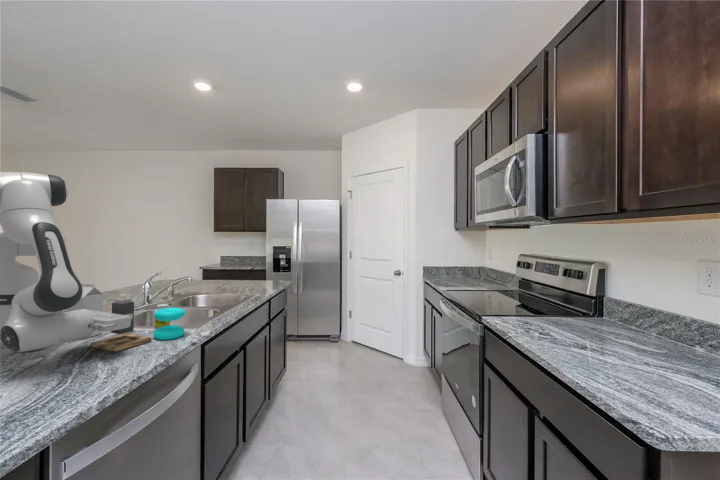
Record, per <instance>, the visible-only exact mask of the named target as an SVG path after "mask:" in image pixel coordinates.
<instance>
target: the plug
mask: <svg viewBox="0 0 720 480" xmlns="http://www.w3.org/2000/svg"><path fill="white" fill-rule="evenodd" d="M111 312H112V313H115V314H121V315H125V314H128V313H130V314H133V318H132V319H131V326H130V327H128V328H124V329H119V330H114V331H110V332H111V334H116V335H123V334H127V333H131V332H134V328H135V327H134V322H135V321H134V320H135V301H132V298H129V297H127V294H126V293H120V298H116V299H115V300H114V302H111Z"/></svg>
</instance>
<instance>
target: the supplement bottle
mask: <svg viewBox="0 0 720 480" xmlns="http://www.w3.org/2000/svg"><path fill="white" fill-rule="evenodd" d="M164 308H169V304H167V303H163V304H160V303H159V304H157V305H156V310H155V311H154V313H155V312H156V311H157V310H160V309H164ZM153 319H154V321H153V323H154V327H153V329H154V328H156V329H158V328H160V327H163V326H168V325H171V321H159V320H157V319H155V317H154V318H153ZM156 329H154V331H155V330H156Z"/></svg>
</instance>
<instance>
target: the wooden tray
mask: <svg viewBox="0 0 720 480" xmlns="http://www.w3.org/2000/svg"><path fill="white" fill-rule="evenodd" d="M149 343H152V337H150V336H146V335H145V336H144V335H138V334H133V333H130V332H127V333H124V334H118V335H116V336H112V337H107V338H105V339H101V340H97V341H93V342H90V348H91V347H92V349H96V350H101V351H104V352H109V353H116V354H117V353H119V352H122V351H127V350H130V349H133V348H137V347H139V346H143V345H146V344H149Z"/></svg>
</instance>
